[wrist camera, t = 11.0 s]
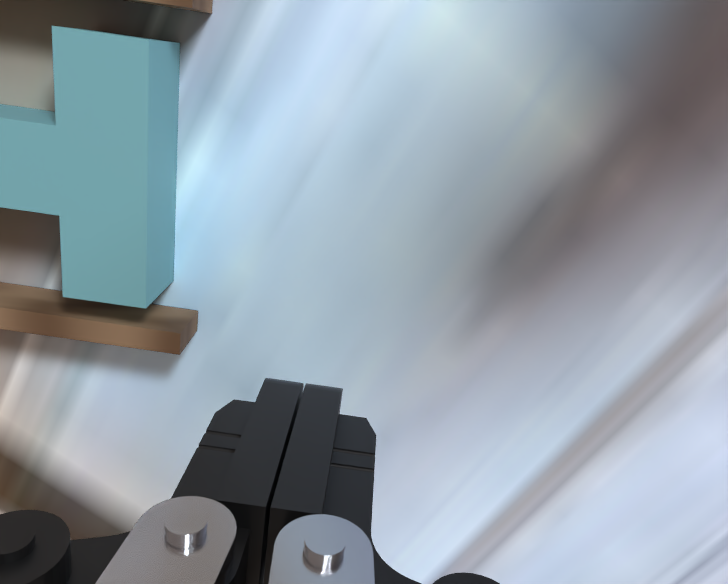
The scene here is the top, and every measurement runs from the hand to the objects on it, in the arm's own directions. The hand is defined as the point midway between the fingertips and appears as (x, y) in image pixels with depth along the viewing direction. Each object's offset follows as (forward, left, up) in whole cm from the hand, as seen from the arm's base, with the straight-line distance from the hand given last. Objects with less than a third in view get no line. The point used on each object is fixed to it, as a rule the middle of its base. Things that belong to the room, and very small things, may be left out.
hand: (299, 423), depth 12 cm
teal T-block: (+15, 0, -21) cm, 25 cm away
